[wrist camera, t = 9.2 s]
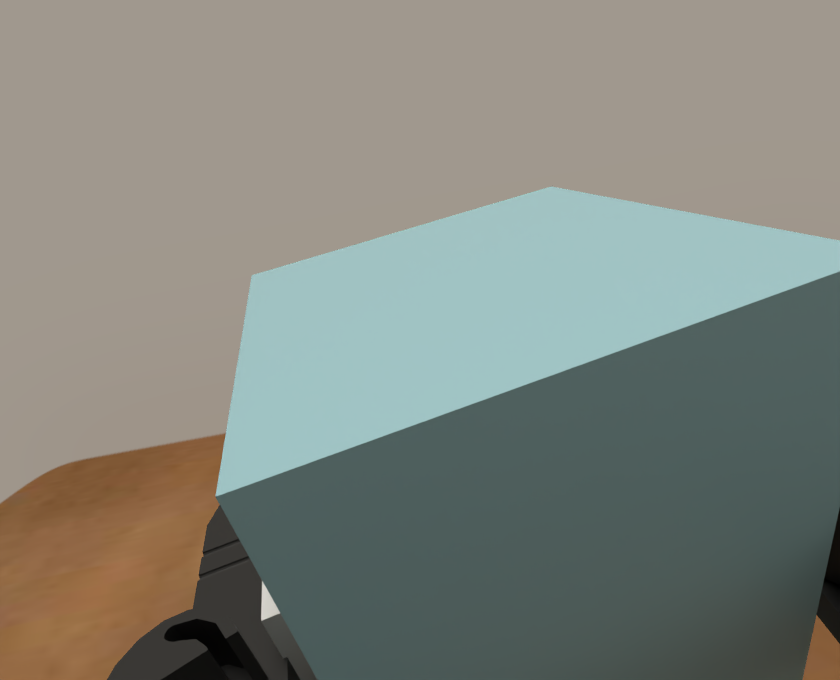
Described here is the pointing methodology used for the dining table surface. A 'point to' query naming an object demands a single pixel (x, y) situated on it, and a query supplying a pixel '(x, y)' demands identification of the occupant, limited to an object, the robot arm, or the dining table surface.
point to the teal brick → (544, 445)
